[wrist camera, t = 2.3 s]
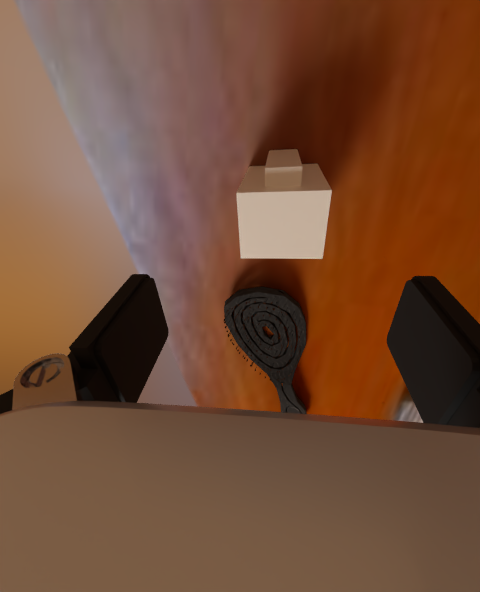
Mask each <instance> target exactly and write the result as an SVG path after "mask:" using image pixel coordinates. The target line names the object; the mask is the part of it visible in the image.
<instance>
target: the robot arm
mask: <svg viewBox="0 0 480 592" xmlns="http://www.w3.org/2000/svg"><path fill="white" fill-rule="evenodd" d="M167 337H168V327H167V323H166V320H165V316H164V313H163V309H162V305H161V302H160V298H159V295H158V291H157V288H156V284H155V281H154V279H153V278H150V276H149V275H147V274H133V275H131V276H130V278H129V279H128V280H127V281H126V282H125V283H124V284H123V286H122V287H121V288H120V289H119V290H118V292H117V293H116V294H115V295H114V296H113V297H112V298H111V299H110V301H109V302H108V303H107V304H106V305H105V306H104V308H103V309H102V310H101V311H100V312H99V313H98V314H97V316H96V317H95V318H94V319H93V320H92V321H91V323H90V324H89V325H88V326H87V327H86V328H85V329H84V331H83V332H82V333H81V334H80V335H79V337H78V338H77V339H76V340H75V341H74V342H73V343H72V345H71V346H70V347H69V348H70V350H71V352H70V354H69V355H68V356H66V355H64V354H50V355H47V356H44V357H41V358H39V359H37V360H35V361H33V362H32V363H30V364H29V365H27V366H26V367H25V368H24V369H23V370H21V371H20V372H19V374H18V375H17V377H16V378H15V381H14V388H13V389H12V390H10V391H8V392H6V393H4V394H1V395H0V592H480V324H479V323H478V322H477V321H476V320H475V319H474V318H473V317H472V316H471V315H470V314H469V313H468V311H467V310H466V309H465V308H464V307H463V306H462V305H461V304H460V303H459V302H458V301H457V300H456V299H455V298H454V296H453V295H452V294H451V293H450V292H449V291H448V290H447V289H446V288H445V287H444V286H443V285H442V284H441V283H440V282H439V280H438V279H437V278H436V277H434V276H414V277H413V278H412V279H411V280H408V281H407V282H406V284H405V286H404V289H403V292H402V295H401V298H400V301H399V304H398V307H397V310H396V312H395V315H394V318H393V321H392V324H391V327H390V330H389V333H388V336H387V345H388V347H389V350H390V352H391V354H392V356H393V358H394V360H395V362H396V365H397V367H398V369H399V371H400V373H401V375H402V377H403V380H404V382H405V384H406V386H407V388H408V390H409V392H410V395H411V397H412V399H413V401H414V403H415V405H416V407H417V410H418V412H419V414H420V416H421V418H422V420H423V422H424V423H418V422H405V421H392V420H379V419H365V418H352V417H339V416H325V415H311V414H297V413H283V412H269V411H254V410H240V409H225V408H210V407H194V406H178V405H162V404H148V403H137V401H138V399H139V396H140V394H141V392H142V390H143V388H144V386H145V384H146V382H147V379H148V377H149V375H150V373H151V371H152V369H153V367H154V365H155V363H156V361H157V358H158V356H159V354H160V352H161V350H162V348H163V346H164V344H165V342H166V340H167Z"/></svg>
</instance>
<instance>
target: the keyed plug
mask: <svg viewBox="0 0 480 592" xmlns="http://www.w3.org/2000/svg"><path fill="white" fill-rule="evenodd" d="M331 192H332V190H331V188H330V186H329V184H328V182H327V180H326V178H325V177H324V175H323V173H322V171H321V169H320V167H319V165H318V164H302V163H301V160H300V156H299V153H298V150H297V149H287V150H269V153H268V157H267V161H266V166H249V167H248V170H247V172H246V174H245V176H244V178H243V180H242V182H241V184H240V187H239V189H238V191H237V208H238V223H239V238H240V253H241V258H289V259H323V251H324V244H325V237H326V229H327V222H328V214H329V207H330V200H331Z"/></svg>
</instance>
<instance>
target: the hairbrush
mask: <svg viewBox="0 0 480 592" xmlns="http://www.w3.org/2000/svg"><path fill="white" fill-rule="evenodd" d="M234 308H235V311H234V316H233V310H234ZM224 312H225V315H224V316H225V319H224V321H225V322H224V323H226V325H227V326H228V328H229V330H230V332H231V333H232V335H233V337H234V339H235V340H236V342H237V344H238V345H239V346H240V347H241V349H242V350H243V351H244V352H245V353H246V354H247V355H248V357H249V358H250V359H251V360H252V361H253V362H252V363H256V364H257V366H259V367H260V368H261V369H262V370H263V371H264V372H266V373H267V374H268V376H269V377H270V380H271V381H272V382H273V384H274V385H275V387H276V388H277V392H278V395H279V399H280V402H281V412H283V413H297V414H306V408H305V405H304V404H303V403H302V402H301V401H300V399H299V398H298V397H297V396H296V393H295V391H294V388H293V386H292V384H291V383H292V379H293V376H294V372H295V369H296V367H297V364H298V362H299V359H300V357H301V355H302V352H303V350H304V348H305V345H306V322H305V316H304V314H303V312H302V309H301V307H300V305H299V303H298V302H297V301H295V300H294V299H293V298H292V297H291V296H289V295H288V294H287V293H286V292H285V291H283V290H278V289H272V288H267V287H255V288H248V289H241V290H239V291H237V292H236V293H235V294H233V295H232V296H231V297H230V298H229V299H227V300H226V301H225V306H224ZM242 312H243V319H242V317H241V315H242ZM252 315H253V321H252V317H251V316H252ZM281 320H282V321H281ZM293 320H294V321H293ZM243 322H244V323H243ZM252 322H254V325H253V323H252ZM244 324H245V325H244ZM294 324H296V326H297V327H296V328H297V331H298V332H297V333H298V342H297V347H296V350H295V352H294V349H295V345H296V330H295V325H294ZM284 325H285V326H286V328H287V331H288V338H289V345H288V347H287V344H288V341H287V331H286V329H285V326H284ZM236 326H237V327H236ZM263 326H267V327H268V328H269V329H270V330H271V331H272V332H273V333H274V335H273V336H271V335H269V336H270V337H269V336H268V335H267V331H266V332H265V331H264V330H263ZM225 328H226V326H225ZM267 330H268V329H267ZM227 332H228V330H227ZM239 332H240V333H239ZM278 332H279V333H280V335H281V337H280V335H279V337H280V339H279V340H278ZM229 334H230V333H229ZM229 334H228V337H229V336H230V335H229ZM231 340H232V339H231ZM231 340H230V341H231ZM232 344H233V342H232ZM233 345H234V344H233ZM237 347H238V346H237ZM286 347H287V349H286ZM236 349H237V348H236ZM285 349H286V350H285ZM237 351H238V350H237ZM239 354H240V352H239ZM243 357H244V356H243ZM244 359H245V357H244ZM247 361H248V359H247ZM251 365H253V364H251ZM251 365H250V367H252V366H251ZM256 368H257V367H256ZM255 371H256V369H255ZM260 374H261V373H260ZM267 374H266V375H267ZM265 378H266V376H265ZM281 383H283V386H282V384H281Z"/></svg>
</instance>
